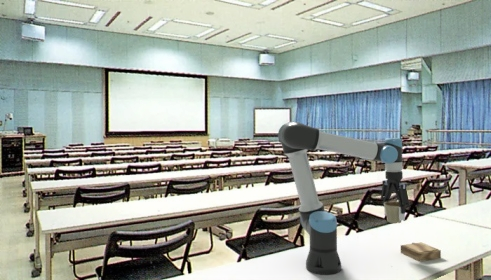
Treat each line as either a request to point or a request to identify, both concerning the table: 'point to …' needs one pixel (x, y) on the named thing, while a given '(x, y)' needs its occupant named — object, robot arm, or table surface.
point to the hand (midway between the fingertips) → (394, 217)
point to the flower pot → (392, 211)
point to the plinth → (420, 251)
